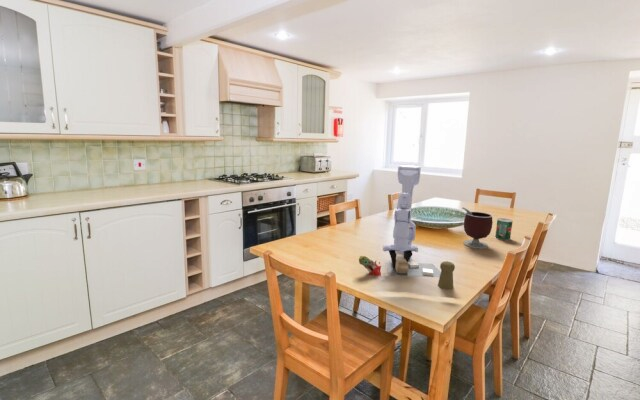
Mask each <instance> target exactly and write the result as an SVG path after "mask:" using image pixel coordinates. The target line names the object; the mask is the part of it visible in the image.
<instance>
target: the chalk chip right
mask: <svg viewBox="0 0 640 400" xmlns="http://www.w3.org/2000/svg"><path fill="white" fill-rule="evenodd" d="M422 272H423V275H431V276H430V277H434V276H433V270H432V269H425V268H423V269H422Z"/></svg>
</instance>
